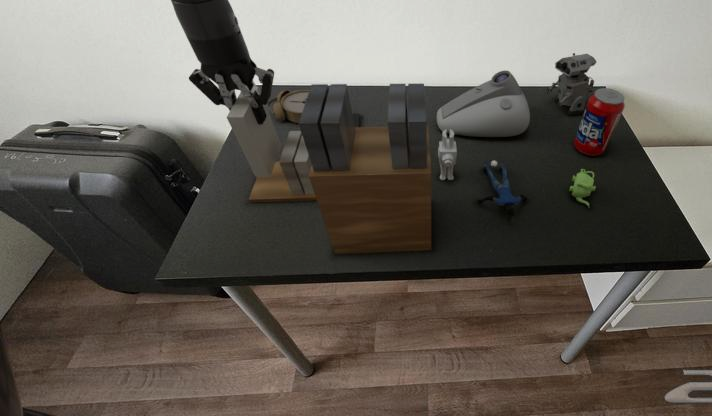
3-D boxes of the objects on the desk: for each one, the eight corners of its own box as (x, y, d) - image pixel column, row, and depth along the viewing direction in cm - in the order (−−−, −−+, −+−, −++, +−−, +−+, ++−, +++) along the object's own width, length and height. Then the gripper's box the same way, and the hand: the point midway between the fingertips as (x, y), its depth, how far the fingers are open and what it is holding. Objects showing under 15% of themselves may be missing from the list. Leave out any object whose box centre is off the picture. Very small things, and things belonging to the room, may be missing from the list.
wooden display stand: (318, 200, 77) (306, 164, 70) (249, 202, 76) (230, 166, 69) (326, 163, 85) (316, 127, 78) (264, 164, 84) (248, 128, 77)
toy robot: (453, 164, 87) (456, 121, 78) (455, 186, 82) (458, 144, 73) (437, 164, 87) (438, 121, 78) (438, 187, 81) (439, 144, 73)
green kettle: (588, 208, 79) (597, 189, 74) (564, 200, 80) (571, 181, 76) (593, 190, 83) (601, 171, 78) (569, 183, 84) (576, 164, 80)
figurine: (537, 101, 107) (549, 50, 96) (573, 97, 109) (589, 47, 98) (550, 119, 101) (565, 67, 90) (588, 114, 103) (606, 63, 92)
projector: (472, 92, 109) (477, 43, 98) (542, 120, 100) (555, 70, 89) (426, 127, 96) (425, 75, 85) (501, 162, 88) (511, 109, 77)
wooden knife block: (431, 250, 70) (431, 125, 49) (335, 254, 68) (291, 128, 47) (428, 204, 78) (427, 79, 57) (342, 207, 76) (308, 80, 55)
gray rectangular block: (270, 177, 73) (243, 116, 62) (255, 177, 73) (226, 117, 62) (281, 145, 79) (258, 86, 69) (268, 145, 79) (243, 86, 69)
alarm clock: (323, 114, 93) (260, 106, 90) (324, 130, 97) (263, 123, 94) (329, 91, 101) (270, 83, 98) (329, 106, 104) (272, 99, 101)
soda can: (610, 154, 91) (635, 101, 80) (585, 161, 89) (606, 107, 78) (591, 136, 96) (612, 83, 85) (566, 142, 94) (584, 89, 83)
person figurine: (469, 176, 87) (483, 227, 73) (470, 159, 84) (484, 210, 70) (514, 173, 88) (536, 224, 74) (517, 157, 85) (540, 206, 71)
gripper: (151, 37, 53) (206, 135, 66) (252, 37, 54) (286, 133, 67) (173, 17, 58) (220, 111, 71) (265, 17, 59) (294, 110, 72)
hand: (252, 121), depth 69 cm, fingers closed on gray rectangular block, 3 cm apart
